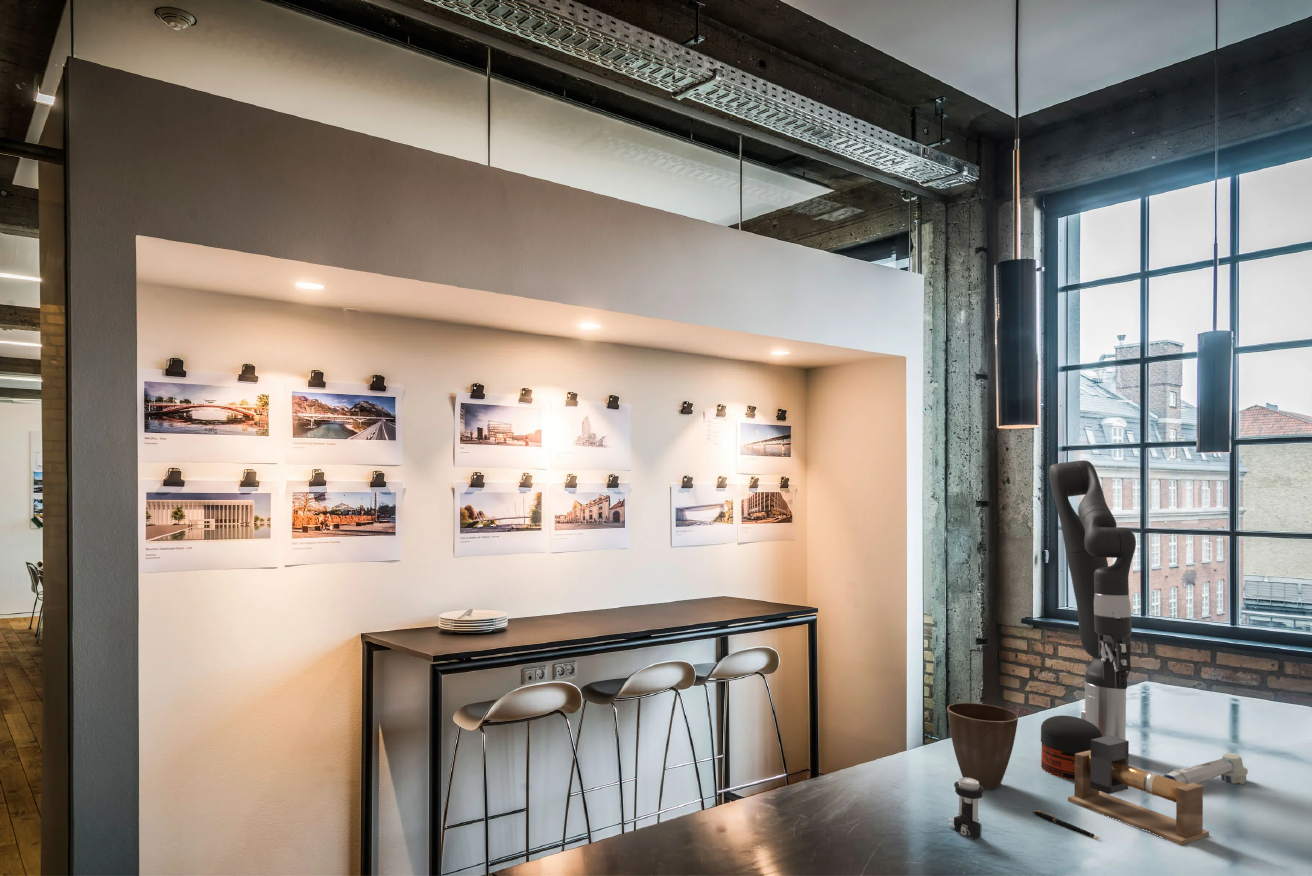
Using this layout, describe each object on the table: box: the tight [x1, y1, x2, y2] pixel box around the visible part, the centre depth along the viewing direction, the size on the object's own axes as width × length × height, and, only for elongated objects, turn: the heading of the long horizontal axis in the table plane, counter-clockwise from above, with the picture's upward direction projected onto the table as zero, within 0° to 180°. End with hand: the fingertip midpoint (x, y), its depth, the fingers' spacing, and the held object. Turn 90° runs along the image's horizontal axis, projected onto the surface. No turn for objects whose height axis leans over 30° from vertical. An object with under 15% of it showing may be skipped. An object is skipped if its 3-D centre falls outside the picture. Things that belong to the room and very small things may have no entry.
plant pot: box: [946, 702, 1019, 790], centre depth 183 cm, size 15×15×16 cm
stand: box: [1067, 750, 1210, 846], centre depth 167 cm, size 23×10×10 cm, turn 30°
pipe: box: [1086, 754, 1187, 803], centre depth 167 cm, size 19×4×4 cm, turn 30°
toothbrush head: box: [1162, 752, 1249, 785], centre depth 187 cm, size 5×7×25 cm
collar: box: [1090, 736, 1130, 795], centre depth 172 cm, size 4×7×10 cm, turn 120°
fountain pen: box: [1032, 809, 1102, 840], centre depth 161 cm, size 14×1×2 cm, turn 32°
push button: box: [948, 777, 985, 840], centre depth 157 cm, size 7×5×10 cm
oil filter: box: [1040, 715, 1102, 782], centre depth 193 cm, size 13×12×13 cm
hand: (1114, 684), depth 188 cm, fingers open, 8 cm apart
